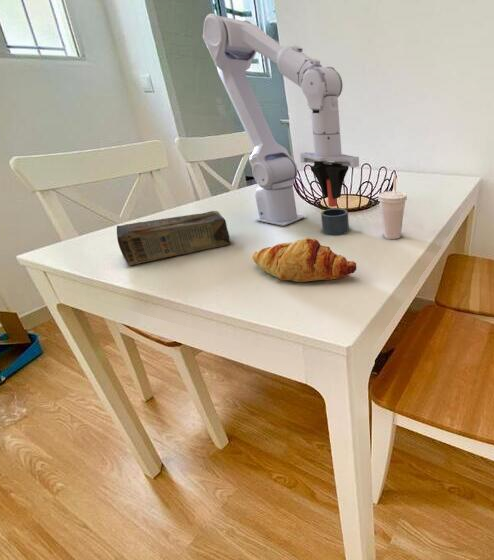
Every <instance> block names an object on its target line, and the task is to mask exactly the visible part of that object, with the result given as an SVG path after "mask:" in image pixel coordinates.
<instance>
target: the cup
mask: <svg viewBox="0 0 494 560" xmlns="http://www.w3.org/2000/svg"><path fill="white" fill-rule="evenodd" d="M320 217H321V227H322V232H323V233H324V234H325V235H330V236H338V235H344V234H346V233H348V232H349V231H350V226H349V225H350V224H349V212H348V210H347V209H344V208H328V209H325V210H322V211H321V212H320Z"/></svg>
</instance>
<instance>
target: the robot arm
mask: <svg viewBox="0 0 494 560" xmlns="http://www.w3.org/2000/svg"><path fill="white" fill-rule="evenodd" d="M202 31H203V32H202V39H203V42H204V44H205V45H206V48H207V50H208V53H209V55H210V57H211V58H212V61H213V63H214V66H215V67H216V69H217V74H218V76H219V78H220V80H221V81H222V84H223V86H224V89H225V91H226V93H227V95H228V97H229V99H230V101H231V104H232V105H233V108H234V110H235V112H236V114H237V116H238V118H239V120H240V123H241V125H242V127H243V129H244V131H245V134H246V135H247V138H248V140H249V143H250V144H251V147H252V148H253V151H252V152H251V154H250V155H249V157H248V162H249V164H250V168H251V172H252V173H251V174H252V177H253V180H254V182H256V184H257V185H259V186H258V187H257V188H256V190H255V202H256V206H257V207H256V208H257V212H258V218H257V219H256V220H257V222H262V223H267V224H271V225H276V226H280V227H281V226H282V227H285V226H288V225H290V224H293V223H296V222H297V221H299V220H302V219H305V215H302V214H298V213H297V206H296V199H295V198H296V197H295V192H294V184H295V180H296V179H297V178H298V171H299V170H298V169H299V168H298V165H297V163H296V161H295V160H294V159H293V157H291V155H290V154H289V151H288V149H287V148H285V147H284V146H283V145H281V144H279V143H278V142H276V139H275V137H274V136H273V132H272V131H271V128H270V126H269V124H268V121H267V120H266V117H265V115H264V113H263V111H262V108H261V106H260V103H259V102H258V99H257V97H256V95H255V93H254V90H253V88H252V86H251V84H250V81H249V80H248V79H249V78H247V74H246V73H247V71H248V70H249V69H250V68H251V65H252V63H253V61H254V59H255V57H256V54H257V53H258V54H259V55H262V56H263V57H264V58H267V60H269V61H271V62H273V63H275V64H276V65H277V69H278V71H279V73H280V74H281V75H282V76H284V77H285V78H286V79H288V80H289V81H291V82H292V83H294V84H295V85H297V86H298V87H299V88H301V90H302V93H303V95H304V96H305V98H306V100H307V106H308V108H309V110H310V119H311V120H310V121H311V128H312V136H313V138H312V139H313V148H314V152H306V151H305V152H301V153H299V155H300V156H299V157H300V163H304V164H306V163H311V164H313V165H312V166H310V171H311V172H312V173H313V175H314V176H315V178H316V180H317V182H318V184H319V187H320V189H321V192H322V195H323V197H324V198H328V193H327V183H326V179H330V183H331V191H332V197H333V199H336V198H337V199H339V198H341V196H342V190H343V184H344V181H345V178H346V175H347V172H348V171H349V168H358V167H360V157H359V156H355V155H350V154H349V155H348V154H344V153H342V141H341V126H340V125H341V124H340V109H339V97H340V96H341V95H342V92H343V84H344V83H343V79H342V76H341V74H340V72H338V71H337V69H336V68H335V67H333V66H325V67H324V66H323V65H322V64H321V60H319V59H318V58H312V57H310V56H309V55H307V54H305V52H303V51H304V50H303V49H304V48H303V47H301V46H300V45H296V44H293V45H286V46H283V45H281V44H280V43H279V42H277V41H276V39H273V37H271V36H269V34H267V33H266V32H265V31H263V30H262V29H261V28H260V27H259V26H258V25H256V24H255V23H252V22H251V21H249V20H242V19H241V20H240V19H235V18H231V17H226V16H222V15H218V14H216V13H209V14H207V15H206V17H205V18H204V22H203V30H202Z"/></svg>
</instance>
